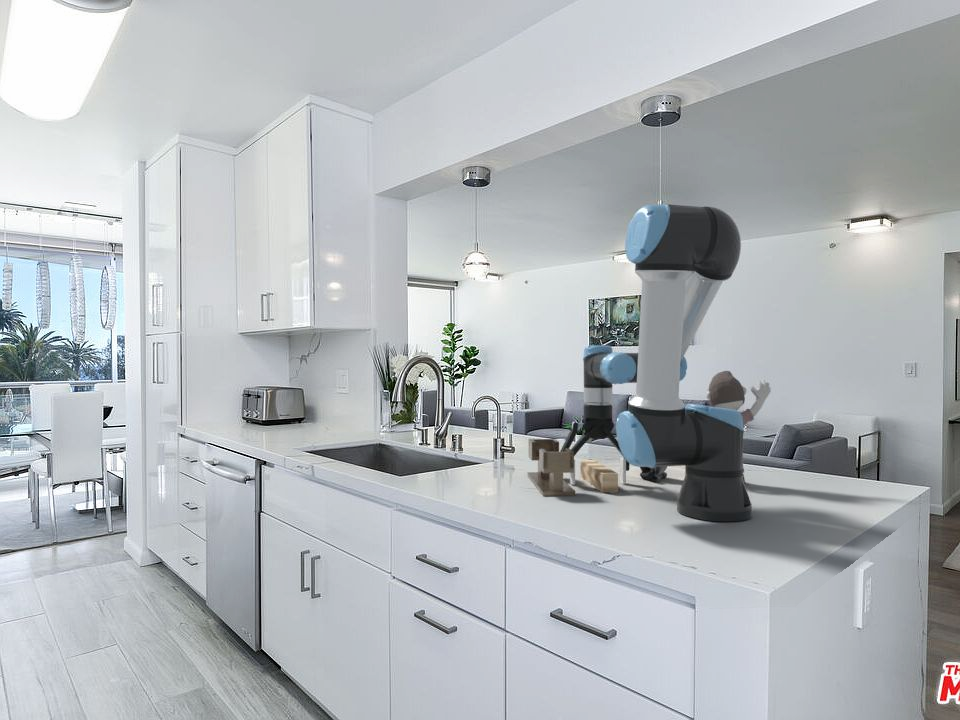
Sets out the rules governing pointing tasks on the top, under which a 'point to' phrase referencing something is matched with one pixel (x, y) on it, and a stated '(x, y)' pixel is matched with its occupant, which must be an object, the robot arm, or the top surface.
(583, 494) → the top surface
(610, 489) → the rail
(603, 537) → the top surface
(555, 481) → the bracket
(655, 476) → the figurine
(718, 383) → the figurine
